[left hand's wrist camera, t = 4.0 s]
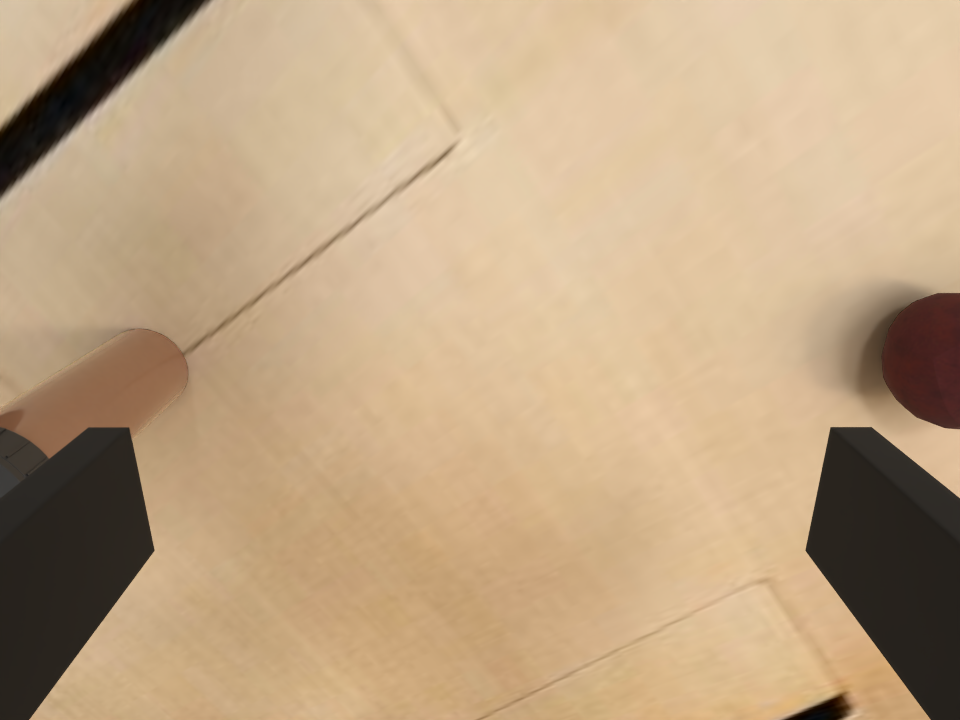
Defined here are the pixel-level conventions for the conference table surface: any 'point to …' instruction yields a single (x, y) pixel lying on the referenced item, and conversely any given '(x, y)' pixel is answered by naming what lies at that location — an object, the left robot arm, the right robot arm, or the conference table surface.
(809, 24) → the conference table surface
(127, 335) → the jar
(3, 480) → the lid
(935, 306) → the dark red ball
